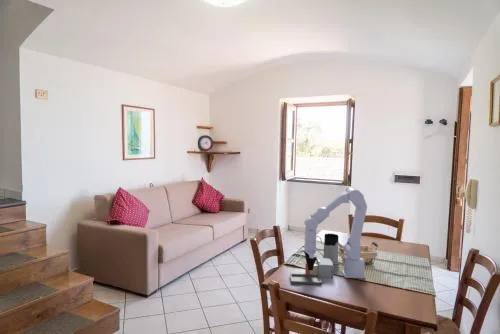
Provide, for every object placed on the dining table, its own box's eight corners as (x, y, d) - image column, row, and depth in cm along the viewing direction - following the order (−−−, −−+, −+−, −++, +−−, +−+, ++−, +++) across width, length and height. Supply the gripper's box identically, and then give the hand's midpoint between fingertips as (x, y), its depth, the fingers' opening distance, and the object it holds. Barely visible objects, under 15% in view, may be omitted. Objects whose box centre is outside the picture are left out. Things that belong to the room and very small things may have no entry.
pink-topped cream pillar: (325, 272, 164) (325, 264, 163) (325, 275, 161) (326, 266, 161) (305, 272, 164) (305, 263, 164) (305, 274, 162) (306, 265, 161)
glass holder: (338, 265, 174) (339, 238, 172) (311, 262, 178) (312, 235, 177) (339, 259, 182) (340, 234, 181) (313, 256, 186) (314, 231, 185)
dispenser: (329, 270, 167) (330, 257, 166) (333, 277, 158) (333, 264, 157) (316, 270, 167) (316, 256, 166) (318, 277, 158) (319, 263, 157)
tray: (318, 277, 158) (319, 274, 158) (321, 285, 149) (321, 282, 149) (290, 276, 159) (290, 273, 159) (291, 284, 150) (291, 281, 150)
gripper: (301, 236, 169) (300, 261, 170) (303, 245, 155) (302, 272, 156) (314, 236, 168) (313, 261, 170) (318, 245, 154) (317, 273, 155)
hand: (309, 267), depth 163 cm, fingers open, 7 cm apart
